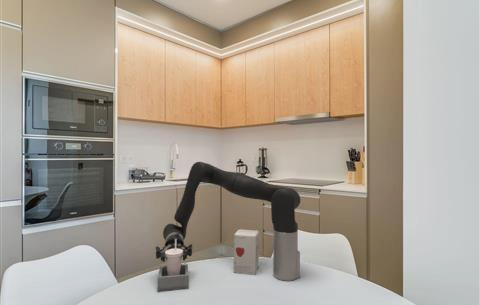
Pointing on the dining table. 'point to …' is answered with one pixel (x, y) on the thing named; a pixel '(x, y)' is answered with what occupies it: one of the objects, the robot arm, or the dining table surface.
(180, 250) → the smoothie
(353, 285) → the dining table surface
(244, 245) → the supplement box
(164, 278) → the box
